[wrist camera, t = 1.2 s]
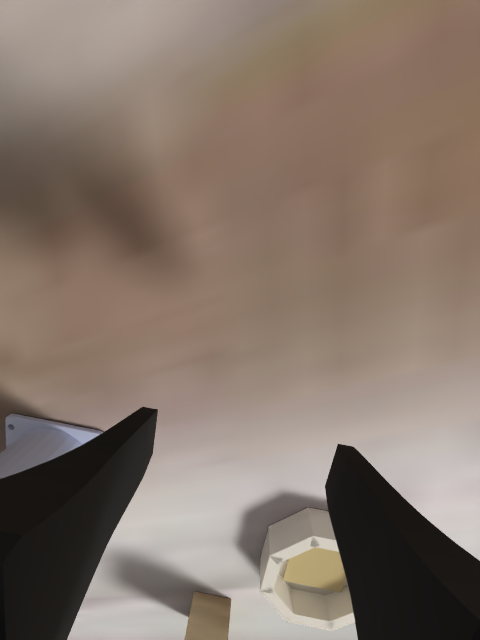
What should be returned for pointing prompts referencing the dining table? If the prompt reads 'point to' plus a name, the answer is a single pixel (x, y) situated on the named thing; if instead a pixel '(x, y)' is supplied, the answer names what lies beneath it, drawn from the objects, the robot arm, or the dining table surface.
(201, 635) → the brown rectangular block
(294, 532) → the jar dish
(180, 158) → the dining table surface
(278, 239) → the dining table surface
